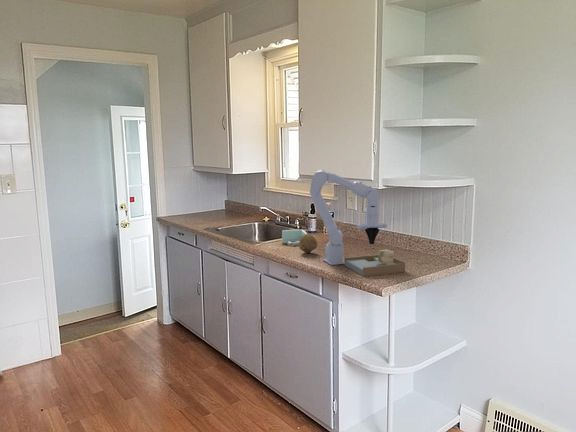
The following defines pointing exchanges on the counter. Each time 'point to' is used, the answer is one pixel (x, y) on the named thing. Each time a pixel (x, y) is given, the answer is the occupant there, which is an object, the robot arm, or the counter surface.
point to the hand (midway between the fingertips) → (371, 243)
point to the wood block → (385, 256)
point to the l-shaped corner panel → (292, 237)
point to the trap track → (373, 265)
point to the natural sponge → (308, 243)
